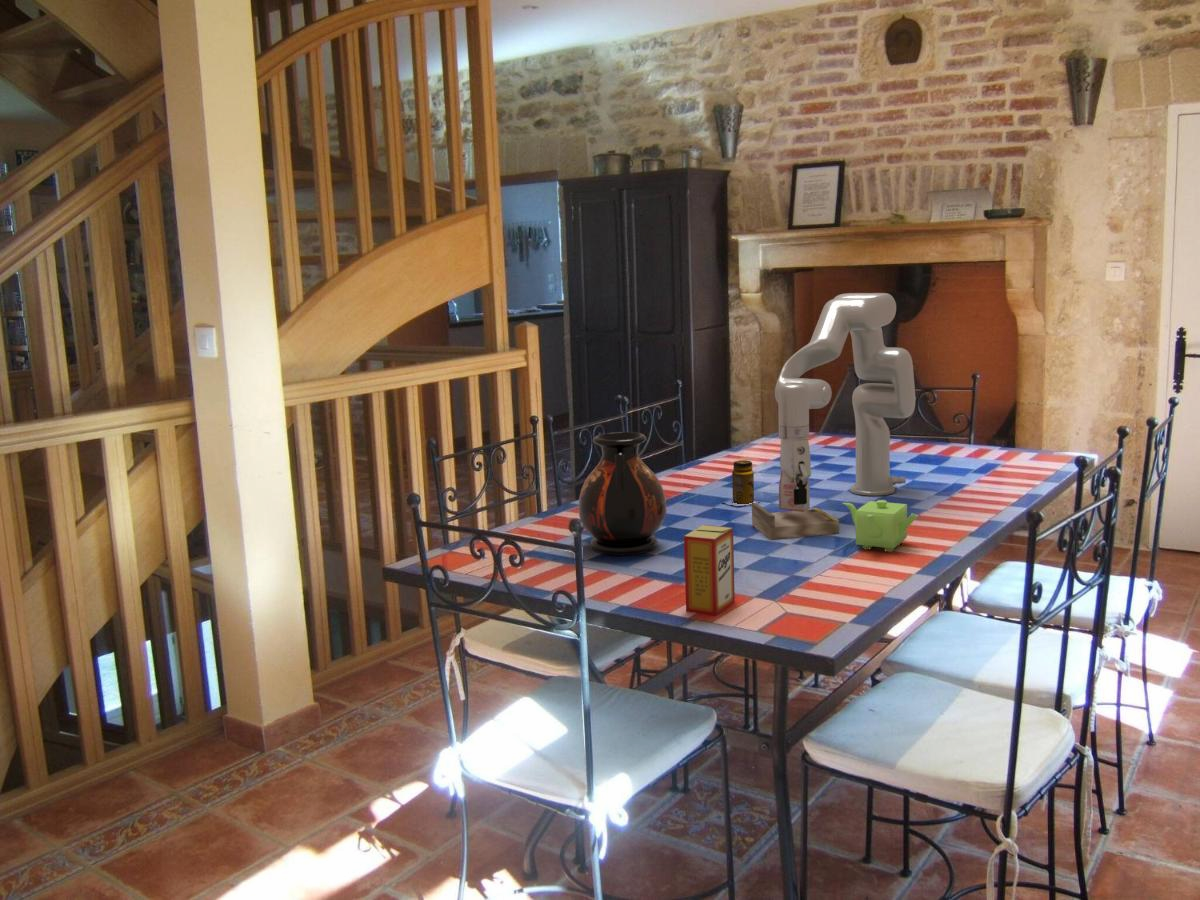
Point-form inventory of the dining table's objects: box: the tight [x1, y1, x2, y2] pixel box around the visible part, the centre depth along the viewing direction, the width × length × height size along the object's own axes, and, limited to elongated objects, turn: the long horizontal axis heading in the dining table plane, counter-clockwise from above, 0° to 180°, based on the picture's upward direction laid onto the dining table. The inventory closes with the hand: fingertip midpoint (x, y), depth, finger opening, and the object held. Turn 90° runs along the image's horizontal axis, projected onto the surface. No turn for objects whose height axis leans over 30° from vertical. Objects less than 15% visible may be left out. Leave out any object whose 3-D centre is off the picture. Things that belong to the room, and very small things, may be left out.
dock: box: [751, 503, 840, 540], centre depth 266 cm, size 18×14×6 cm
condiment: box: [731, 459, 755, 504], centre depth 295 cm, size 7×8×12 cm
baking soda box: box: [683, 524, 736, 616], centre depth 210 cm, size 10×6×16 cm
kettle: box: [842, 499, 918, 552], centre depth 247 cm, size 15×14×11 cm
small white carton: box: [778, 469, 811, 512], centre depth 264 cm, size 4×7×10 cm, turn 58°
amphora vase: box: [577, 431, 667, 556], centre depth 254 cm, size 22×22×28 cm
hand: (794, 500), depth 265 cm, fingers closed on small white carton, 7 cm apart
